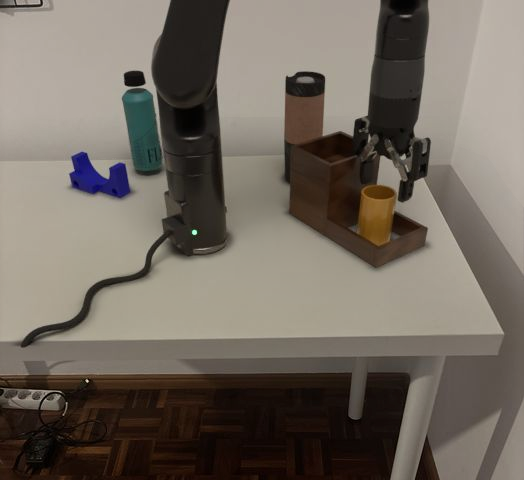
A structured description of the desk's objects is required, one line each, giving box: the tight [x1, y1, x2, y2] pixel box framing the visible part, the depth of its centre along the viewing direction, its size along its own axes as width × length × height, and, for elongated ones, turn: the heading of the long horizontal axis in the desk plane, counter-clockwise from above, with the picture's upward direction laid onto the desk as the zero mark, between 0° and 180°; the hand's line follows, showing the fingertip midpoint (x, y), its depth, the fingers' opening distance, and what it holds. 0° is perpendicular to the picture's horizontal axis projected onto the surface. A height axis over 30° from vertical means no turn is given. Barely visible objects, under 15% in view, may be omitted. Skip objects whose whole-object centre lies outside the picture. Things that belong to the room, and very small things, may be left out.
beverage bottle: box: [121, 70, 164, 172], centre depth 115 cm, size 6×7×20 cm
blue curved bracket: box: [68, 151, 131, 199], centre depth 113 cm, size 12×4×6 cm, turn 58°
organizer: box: [289, 130, 429, 269], centre depth 98 cm, size 12×23×13 cm, turn 36°
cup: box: [356, 184, 398, 246], centre depth 96 cm, size 6×6×9 cm
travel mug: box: [283, 70, 326, 185], centre depth 111 cm, size 8×8×20 cm
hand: (384, 191), depth 92 cm, fingers open, 8 cm apart
